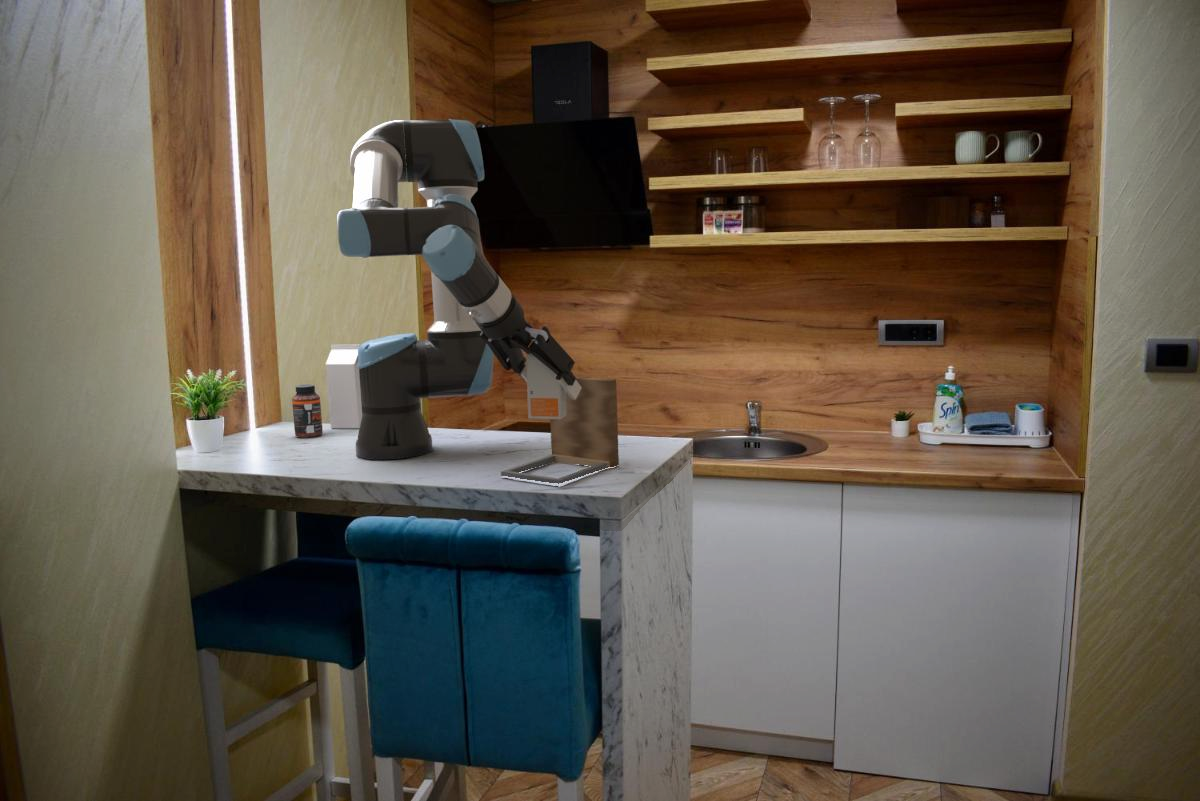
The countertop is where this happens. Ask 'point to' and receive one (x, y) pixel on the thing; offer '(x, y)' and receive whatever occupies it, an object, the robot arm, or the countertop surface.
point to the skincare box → (544, 391)
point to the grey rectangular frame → (594, 464)
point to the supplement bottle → (307, 412)
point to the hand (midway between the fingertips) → (559, 391)
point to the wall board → (589, 423)
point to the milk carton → (344, 386)
